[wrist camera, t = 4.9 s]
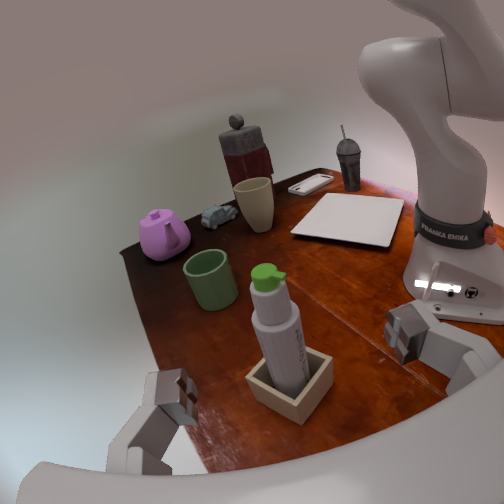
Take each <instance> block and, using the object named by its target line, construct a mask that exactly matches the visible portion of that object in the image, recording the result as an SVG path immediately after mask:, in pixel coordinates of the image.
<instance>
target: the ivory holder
mask: <svg viewBox="0 0 504 504" xmlns="http://www.w3.org/2000/svg"><path fill="white" fill-rule="evenodd" d="M305 348H306V354H307V361H308V367H309V373H310V377H312V379H311V380H310V382H309V383H308V384H307V386H306V387H305V388H304V389H303V391H302V392H301V393H300V395H299V396H298V397H297V398H296V400H294V399H292V398H290V397H288V396H286V395H285V394H283V393H281V392H279V391H277V390H275V389H274V388H273V386H274V383H273V380H272V377H271V374H270V372H269V369H268V366H267V363H266V360H265V358H263V359H262V360H261V361H260V362H259V363H258V364H257V365H256V366H255V367H254V368H253V369H252V370H251V372H250V373H249V374H248V375H247V376H246V377H245V378H246V380H247V382H248V384H249V386H250V388H251V390H252V392H253V394H254V396H255V398H256V400H257V401H259V402H261V403H262V404H264V405H266V406H267V407H269V408H271V409H272V410H274V411H276V412H278V413H279V414H281V415H283V416H284V417H286V418H288V419H290V420H292V421H293V422H295V423H297V424H299V425H301V426H302V425H303V424H304V422H305V421H306V420H307V418H308V417H309V416H310V415H311V413H312V412H313V411H314V409H315V408H316V407H317V405H318V404H319V402H320V401H321V400H322V398H323V397H324V396H325V394H326V393H327V391H328V390H329V389H330V387H331V386H332V384H333V358H332V357H330V356H328V355H325V354H323V353H320V352H318V351H316V350H313V349H311V348H309V347H306V346H305Z"/></svg>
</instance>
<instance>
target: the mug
mask: <svg viewBox="0 0 504 504" xmlns="http://www.w3.org/2000/svg"><path fill="white" fill-rule="evenodd" d="M233 189H234V192H235V195H236V198H237V201H238V203H239V206H240V209H241V211H242V213H243V215H244V217H245V218H246V220H247V221H248V223H249V224H250V226H251V227H252V229H253V230H254V231H255V232H258V233H260V232H265V231H268V230H269V229H271V227H272V221H273V212H274V201H273V194H272V187H271V180H270V179H269V178H265V177H258V178H252V179H248V180H245V181H242V182H240V183H238V184H237V185H235V186H234V188H233Z"/></svg>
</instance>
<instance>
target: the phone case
mask: <svg viewBox="0 0 504 504" xmlns="http://www.w3.org/2000/svg"><path fill="white" fill-rule="evenodd" d="M321 175H323V174H316V175H314V176H312V177H310V178H308V179H306V180H304V181H302V182H300V183H298V184H296V185H294V186H291V187H289V188H288V191H289V192H290V193H294V194H298V195H302V196H305V195H307V194H309V193H311V192H313V191H315V190H317V189H319V188H321V187H322V186H324V185H326V184H328V183H330V182H332V181H334V177H333V176H328V175H323V176H328V177H331V178H325V177H321ZM299 184H301V185H299ZM297 185H299V186H297ZM295 186H297V187H295ZM293 187H295V188H293ZM292 188H293V189H292ZM297 188H300V189H299V190H295V189H297Z"/></svg>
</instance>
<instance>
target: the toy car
mask: <svg viewBox="0 0 504 504" xmlns="http://www.w3.org/2000/svg"><path fill="white" fill-rule="evenodd" d="M235 213H238V211H237V210H236V209H235V208H232V206H230V205H227V206H224V207H220V206H217V205H214V206H212V207H210V208H208V209H206V210H204V212H203V214H202V221H201V224H202V225H203V226H205V227H208V228H212V229H213V230H215V229H217V227H218V224H220V225H221V224H222V223H224V222H226V221H228V220H230V219H235V217H236V214H235Z"/></svg>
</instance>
